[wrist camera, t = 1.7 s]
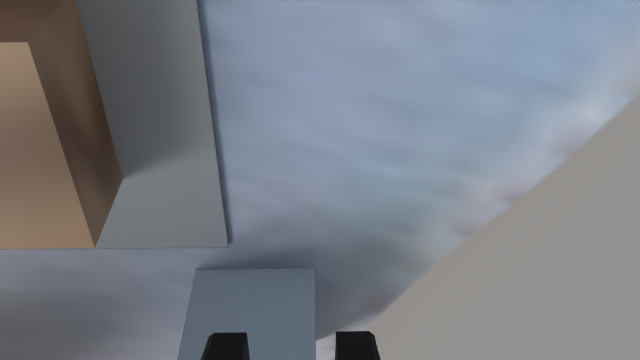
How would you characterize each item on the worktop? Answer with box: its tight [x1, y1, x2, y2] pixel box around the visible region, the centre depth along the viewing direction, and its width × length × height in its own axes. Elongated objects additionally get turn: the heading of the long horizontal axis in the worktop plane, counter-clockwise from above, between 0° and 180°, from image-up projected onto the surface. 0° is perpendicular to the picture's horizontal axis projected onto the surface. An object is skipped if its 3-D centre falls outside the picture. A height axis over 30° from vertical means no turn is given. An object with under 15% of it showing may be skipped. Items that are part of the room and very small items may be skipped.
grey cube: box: [177, 268, 316, 360], centre depth 24 cm, size 5×5×5 cm
